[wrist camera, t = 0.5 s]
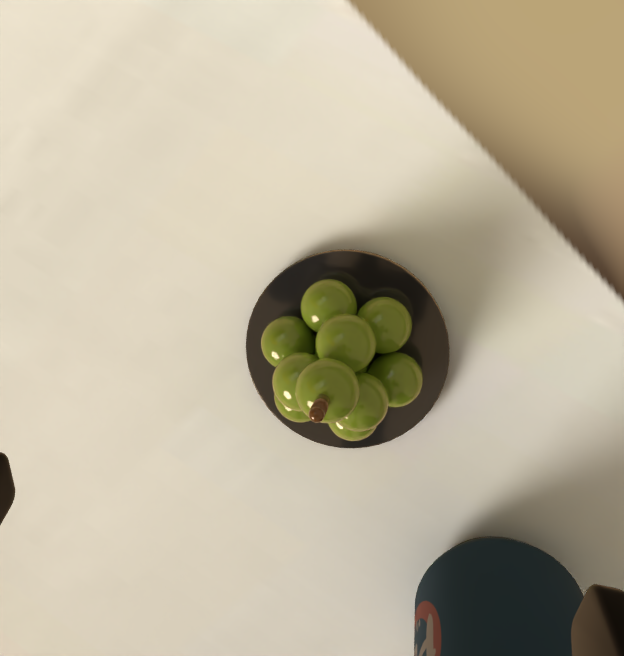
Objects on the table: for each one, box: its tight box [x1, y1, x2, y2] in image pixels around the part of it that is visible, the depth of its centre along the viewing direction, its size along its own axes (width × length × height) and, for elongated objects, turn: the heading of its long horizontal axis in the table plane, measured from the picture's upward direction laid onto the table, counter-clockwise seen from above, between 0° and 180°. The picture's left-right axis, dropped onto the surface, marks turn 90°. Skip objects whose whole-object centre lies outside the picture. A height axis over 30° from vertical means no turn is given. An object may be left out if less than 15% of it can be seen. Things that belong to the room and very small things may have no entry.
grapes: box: [246, 250, 449, 448], centre depth 21 cm, size 8×8×8 cm
